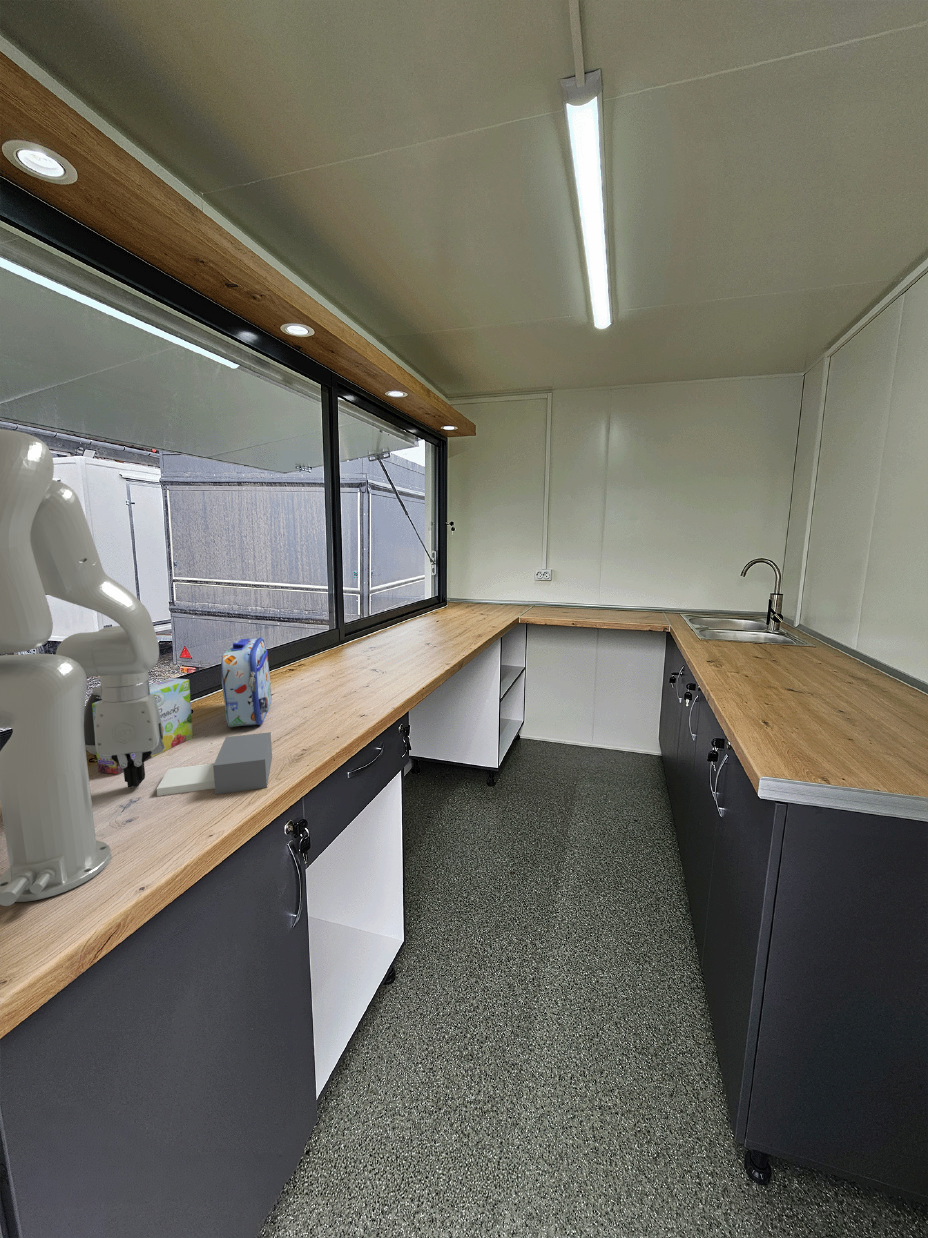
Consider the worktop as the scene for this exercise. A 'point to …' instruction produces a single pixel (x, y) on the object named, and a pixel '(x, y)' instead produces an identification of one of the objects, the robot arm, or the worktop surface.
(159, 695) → the snack box
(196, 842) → the worktop surface
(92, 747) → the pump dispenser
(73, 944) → the worktop surface
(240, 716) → the lunch box
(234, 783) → the gray block
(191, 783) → the cutting board
